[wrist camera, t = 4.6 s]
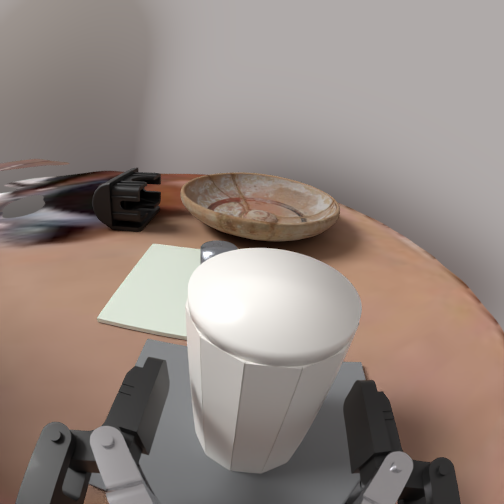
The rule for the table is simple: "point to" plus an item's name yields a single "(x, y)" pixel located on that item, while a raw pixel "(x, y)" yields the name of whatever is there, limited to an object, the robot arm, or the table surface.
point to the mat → (242, 483)
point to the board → (155, 293)
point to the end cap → (127, 201)
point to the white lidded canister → (264, 351)
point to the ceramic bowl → (260, 206)
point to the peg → (215, 249)
